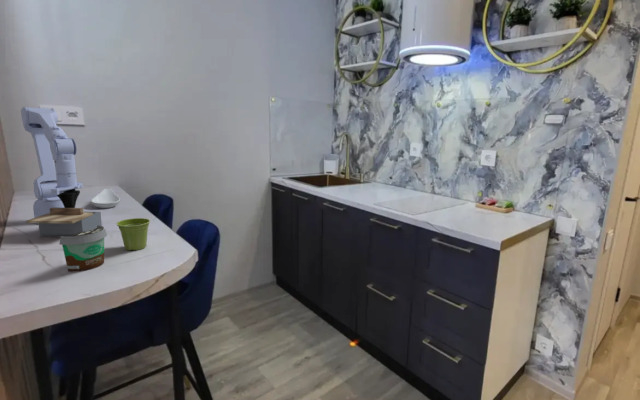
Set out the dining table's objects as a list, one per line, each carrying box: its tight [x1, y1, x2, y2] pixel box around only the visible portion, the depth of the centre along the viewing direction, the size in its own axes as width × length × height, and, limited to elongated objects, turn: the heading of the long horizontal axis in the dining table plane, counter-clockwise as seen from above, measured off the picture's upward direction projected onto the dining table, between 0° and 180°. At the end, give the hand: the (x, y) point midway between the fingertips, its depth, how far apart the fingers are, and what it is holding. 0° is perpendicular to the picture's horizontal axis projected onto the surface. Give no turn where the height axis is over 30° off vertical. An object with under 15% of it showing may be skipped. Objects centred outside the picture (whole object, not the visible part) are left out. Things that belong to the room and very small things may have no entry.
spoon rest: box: [90, 188, 121, 209], centre depth 164 cm, size 24×12×7 cm, turn 28°
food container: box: [59, 225, 108, 272], centre depth 92 cm, size 12×6×10 cm, turn 168°
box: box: [37, 211, 103, 237], centre depth 121 cm, size 14×12×6 cm
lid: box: [26, 207, 93, 224], centre depth 116 cm, size 14×12×3 cm
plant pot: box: [116, 217, 151, 251], centre depth 107 cm, size 9×9×9 cm
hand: (70, 211), depth 120 cm, fingers closed
